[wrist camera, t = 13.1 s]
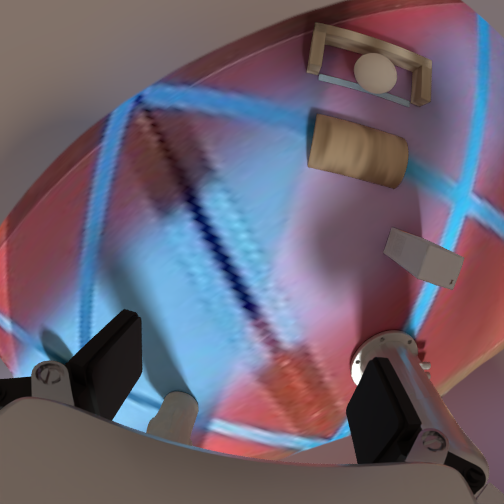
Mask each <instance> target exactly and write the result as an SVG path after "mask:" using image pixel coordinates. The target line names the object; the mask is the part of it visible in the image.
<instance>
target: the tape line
mask: <svg viewBox="0 0 504 504" xmlns="http://www.w3.org/2000/svg"><path fill="white" fill-rule="evenodd" d="M319 80H320V81H324V82H329V83H333V84H337V85H341V86H344V87H348V88H352V89H355V90H359V91H362V92H365V93H369V94H372V95H375V96H378V97H381V98H384V99H387V100H390V101H393V102H396V103H398V104H401V105H404V106H407V107H409V106H410V101H408V100H405V99H402V98H400V97H397V96H394V95H391V94H388V93H382V94H375V93H371V92H368V91H366V90H365V89H363V88H362V87H361V86H360V85H359V84H357V83H353V82H350V81H346V80H342V79H339V78H335V77H331V76H326V75H322V74H319Z"/></svg>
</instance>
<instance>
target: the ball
mask: <svg viewBox="0 0 504 504" xmlns="http://www.w3.org/2000/svg"><path fill="white" fill-rule="evenodd" d="M354 75H355V78H356V80H357V82H358V84H359V85H360V86H361V87H362V88H363V89H365V90H366V91H368V92H371V93H375V94H382V93H386V92H388V91H390V90H391V89H392V88H393V87H394V85H395V84H396V80H397V72H396V69H395V66H394V65H393V63H392V62H391V61H390V60H389V59H388V58H387V57H385V56H383V55H381V54H378V53H368V54H365V55H363V56H361V57H360V58H359V59H358V60H357V61H356V63H355V66H354Z"/></svg>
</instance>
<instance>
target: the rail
mask: <svg viewBox="0 0 504 504" xmlns="http://www.w3.org/2000/svg"><path fill="white" fill-rule="evenodd" d="M324 45H330V46H334V47H338V48H342V49H345V50H349V51H353V52H356V53H360V54H363V55H365V54H368V53H378V54H381V55H383V56H385V57H387V58H388V59H389V60H390V61H391V62H392V63H393V65H395V66H398V67H401V68H403V69H406V70H408V71H411V72H412V91H411V104H414V105H416V106H419V107H420V106H422V105H425V104H427V103H429V102H431V77H432V61H431V60H429V59H427V58H425V57H423V56H420V55H418V54H416V53H413V52H411V51H409V50H406V49H404V48H401V47H399V46H396V45H393V44H391V43H388V42H385V41H382V40H379V39H376V38H373V37H370V36H367V35H364V34H361V33H357V32H354V31H350V30H346V29H343V28H339V27H335V26H331V25H326V24H322V23H317V22H315V26H314V30H313V35H312V41H311V48H310V54H309V60H308V67H307V73H311V74H315V75H318V73H319V71H320V68H321V66H322V59H323V52H324Z"/></svg>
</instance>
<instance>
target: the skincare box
mask: <svg viewBox="0 0 504 504" xmlns="http://www.w3.org/2000/svg"><path fill="white" fill-rule="evenodd" d="M383 253H384V254H385V255H387V256H388V257H390V258H391V259H392V260H394V261H395V262H396V263H398V264H399V265H400V266H402V267H403V268H404V269H405V270H407V271H408V272H409V273H411V274H412V275H413V276H415V277H416V278H417V279H420V280H423V281H426V282H429V283H432V284H434V285H437V286H441V287H444V288H448V289H451V290H453V288H454V286H455V283H456V280H457V278H458V275H459V273H460V270H461V267H462V264H463V261H464V257H462V256H460V255H458V254H456V253H454V252H451V251H449V250H447V249H445V248H443V247H441V246H439V245H437V244H435V243H433V242H430V241H428V240H426V239H424V238H421V237H418V236H416V235H413V234H410V233H408V232H405V231H402V230H399V229H397V228H394V227H392V228H391V231H390V234H389V237H388V240H387V243H386V246H385V249H384V252H383Z"/></svg>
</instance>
